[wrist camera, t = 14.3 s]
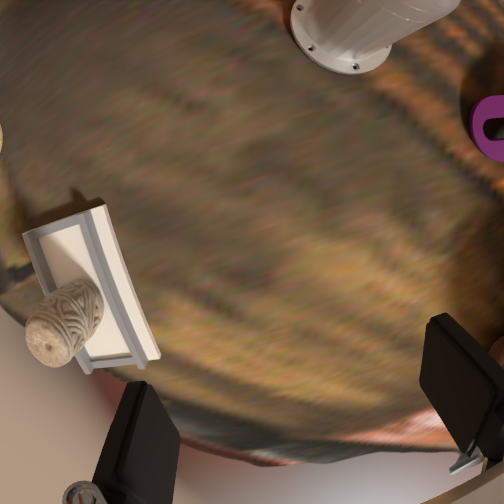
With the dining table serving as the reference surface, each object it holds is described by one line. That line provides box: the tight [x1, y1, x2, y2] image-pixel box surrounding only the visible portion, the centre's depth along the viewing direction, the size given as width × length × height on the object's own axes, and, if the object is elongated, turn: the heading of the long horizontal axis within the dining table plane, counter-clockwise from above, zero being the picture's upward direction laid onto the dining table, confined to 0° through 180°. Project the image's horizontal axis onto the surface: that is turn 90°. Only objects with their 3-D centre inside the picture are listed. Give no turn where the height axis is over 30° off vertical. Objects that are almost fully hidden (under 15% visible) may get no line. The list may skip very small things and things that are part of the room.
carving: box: [24, 279, 104, 367], centre depth 32 cm, size 6×8×12 cm
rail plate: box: [22, 204, 161, 374], centre depth 37 cm, size 22×14×3 cm, turn 12°
